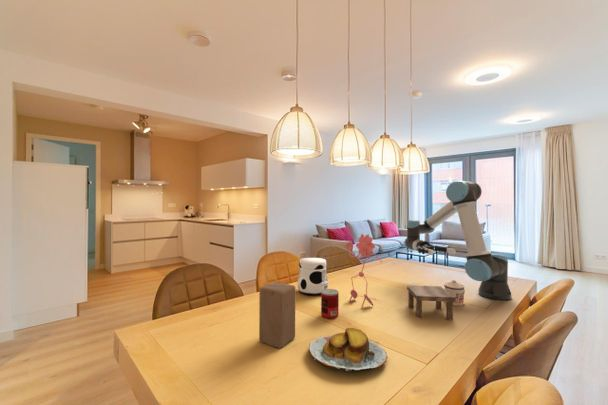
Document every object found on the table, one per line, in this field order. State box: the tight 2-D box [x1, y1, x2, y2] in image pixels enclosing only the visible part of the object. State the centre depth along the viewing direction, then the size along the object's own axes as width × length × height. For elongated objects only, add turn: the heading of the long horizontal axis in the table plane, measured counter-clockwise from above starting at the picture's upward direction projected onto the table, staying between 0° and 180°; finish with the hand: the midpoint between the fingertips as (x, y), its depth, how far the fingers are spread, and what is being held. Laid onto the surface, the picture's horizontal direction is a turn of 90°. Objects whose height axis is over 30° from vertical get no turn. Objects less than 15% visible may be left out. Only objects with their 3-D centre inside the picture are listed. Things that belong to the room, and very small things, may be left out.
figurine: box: [346, 233, 383, 308], centre depth 146 cm, size 15×26×35 cm, turn 31°
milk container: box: [297, 257, 329, 296], centre depth 162 cm, size 17×17×18 cm
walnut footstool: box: [406, 285, 455, 321], centre depth 133 cm, size 16×16×10 cm
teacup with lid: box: [444, 279, 465, 307], centre depth 146 cm, size 12×9×12 cm
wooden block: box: [258, 281, 296, 349], centre depth 105 cm, size 10×10×20 cm
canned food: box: [320, 288, 340, 320], centre depth 128 cm, size 8×8×11 cm
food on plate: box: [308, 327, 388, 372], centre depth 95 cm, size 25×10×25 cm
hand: (443, 252), depth 155 cm, fingers open, 13 cm apart
